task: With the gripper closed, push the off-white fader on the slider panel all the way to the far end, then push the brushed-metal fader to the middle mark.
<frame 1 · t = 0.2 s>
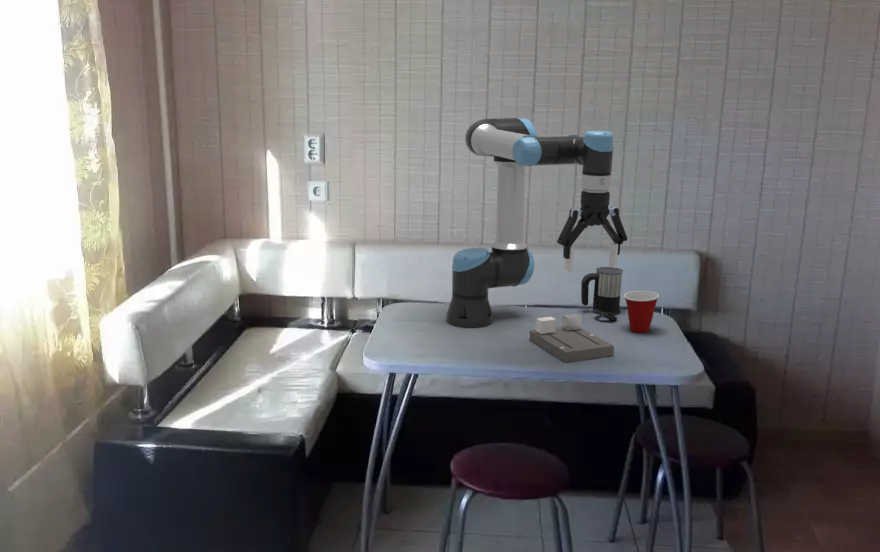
hand: (590, 268, 222), 28 cm above the table, fingers open, 13 cm apart
milk frother: (606, 315, 276), on the table
plastic cup: (638, 331, 260), on the table
fader b: (571, 322, 250), point 5 cm above the table, slide at 0.0 cm
fader a: (545, 325, 246), point 5 cm above the table, slide at 0.0 cm
slider panel: (570, 347, 243), on the table
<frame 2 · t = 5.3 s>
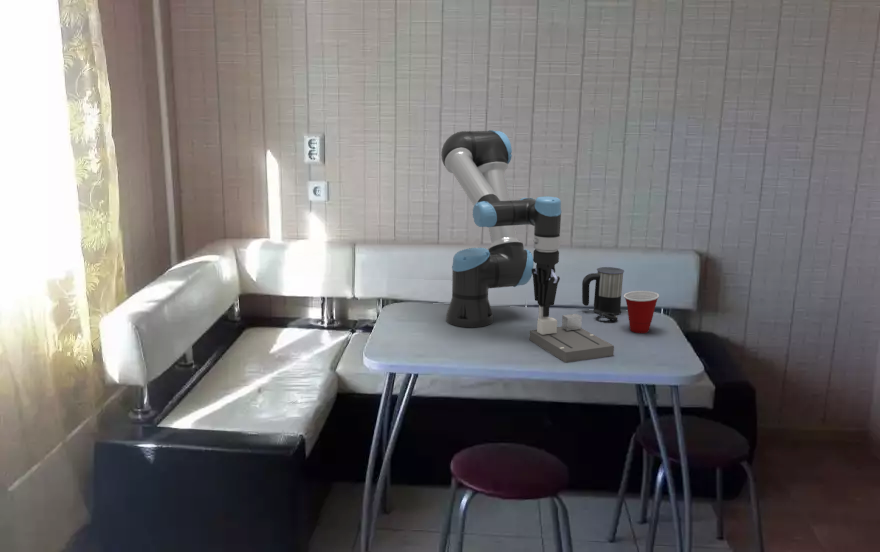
hand: (543, 326, 248), 5 cm above the table, fingers closed
fader a: (547, 325, 246), point 5 cm above the table, slide at 0.7 cm, touching gripper
everything else where it was.
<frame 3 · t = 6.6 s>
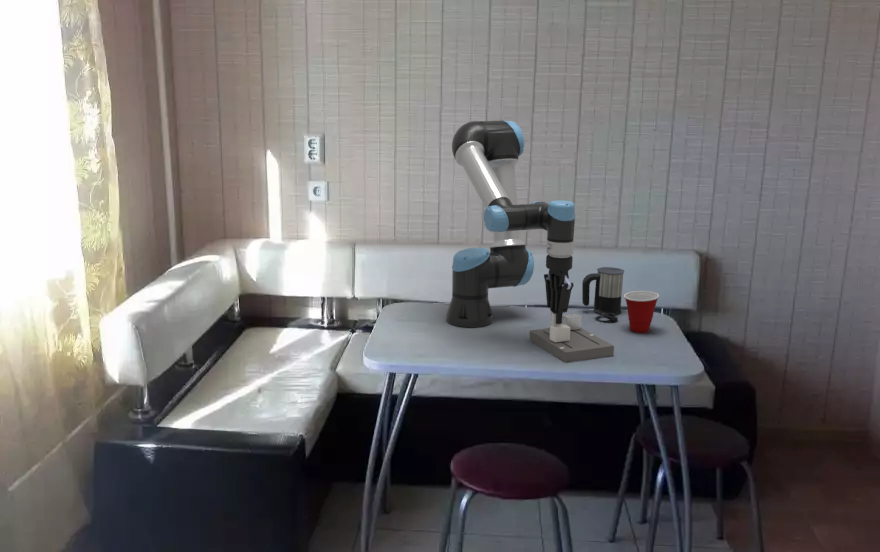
hand: (555, 333, 241), 5 cm above the table, fingers closed
fader a: (559, 333, 239), point 5 cm above the table, slide at 8.2 cm, touching gripper
everything else where it was.
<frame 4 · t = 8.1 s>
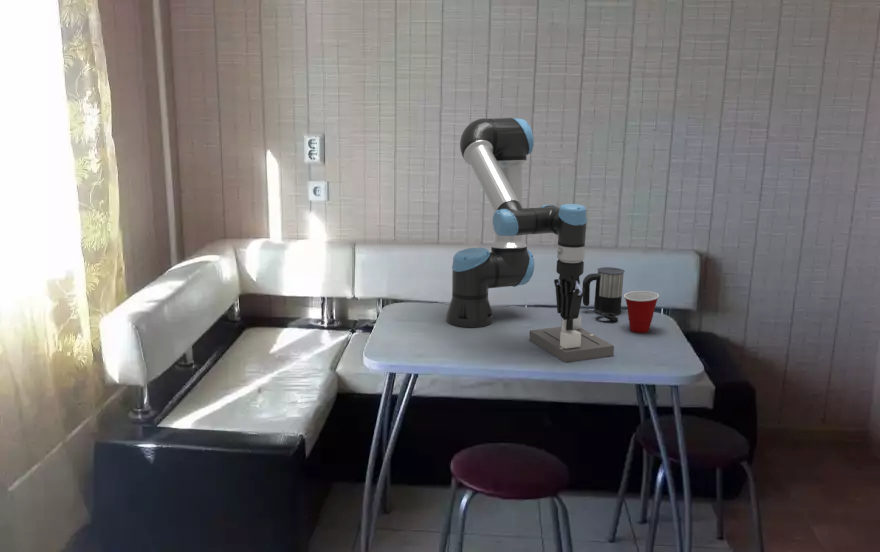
hand: (566, 339, 236), 4 cm above the table, fingers closed
fader a: (570, 339, 234), point 5 cm above the table, slide at 14.0 cm, touching gripper
everything else where it was.
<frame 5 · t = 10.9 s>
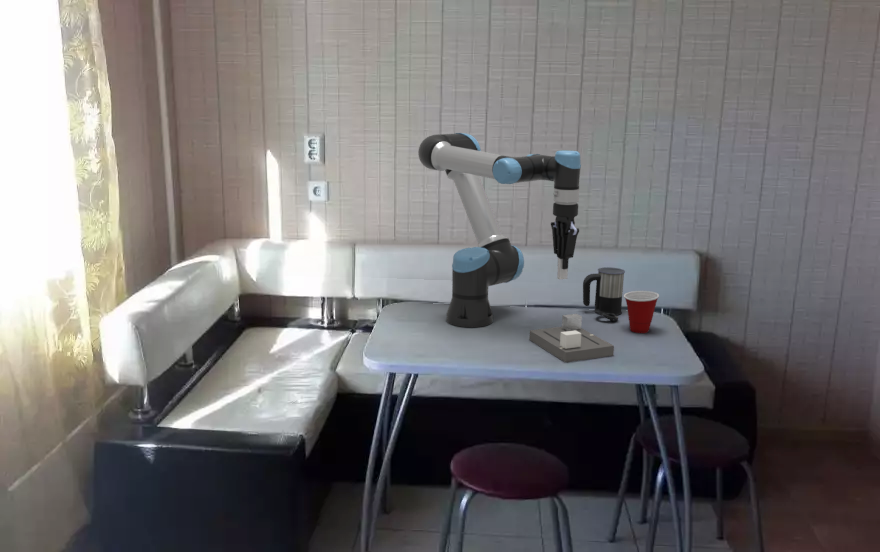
hand: (562, 278, 253), 17 cm above the table, fingers closed
fader a: (570, 339, 234), point 5 cm above the table, slide at 14.1 cm
everything else where it was.
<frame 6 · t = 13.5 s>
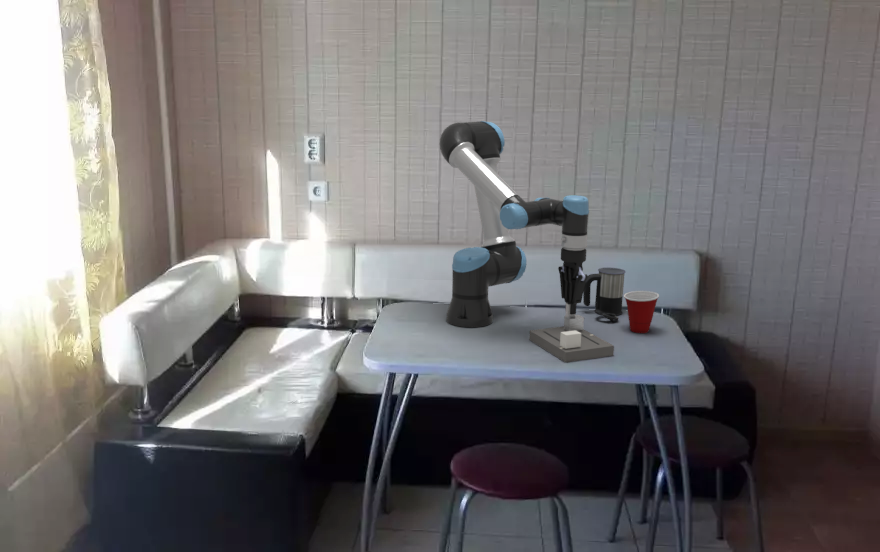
hand: (570, 323, 251), 5 cm above the table, fingers closed
fader b: (573, 323, 249), point 5 cm above the table, slide at 1.2 cm, touching gripper
everything else where it was.
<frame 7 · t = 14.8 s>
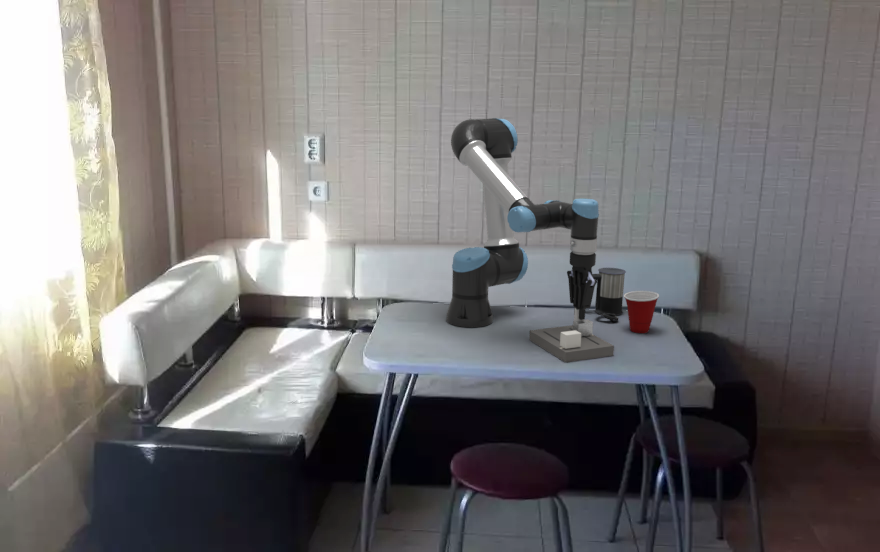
hand: (578, 328, 246), 4 cm above the table, fingers closed
fader b: (582, 328, 244), point 5 cm above the table, slide at 6.2 cm, touching gripper
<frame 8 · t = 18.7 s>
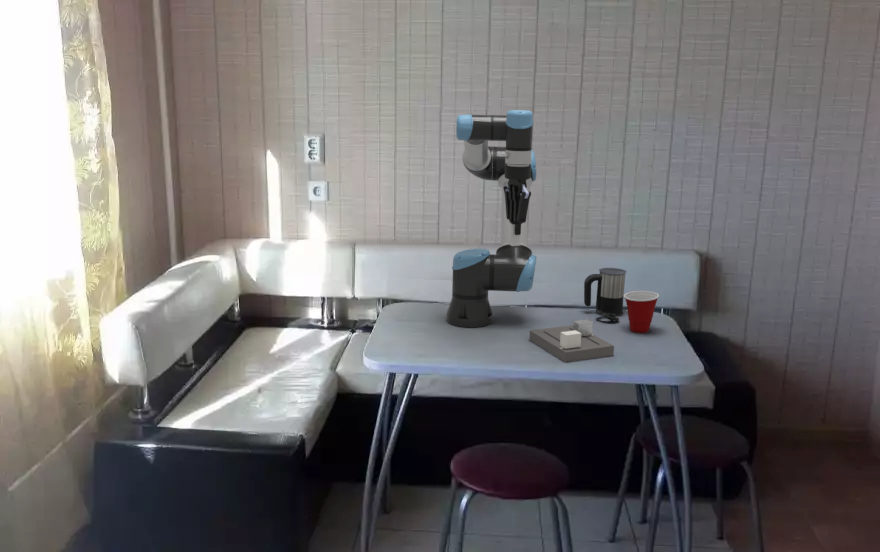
hand: (515, 245, 242), 29 cm above the table, fingers closed
fader b: (582, 328, 244), point 5 cm above the table, slide at 6.2 cm
at the end: fader a slide at 14.1 cm; fader b slide at 6.2 cm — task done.
